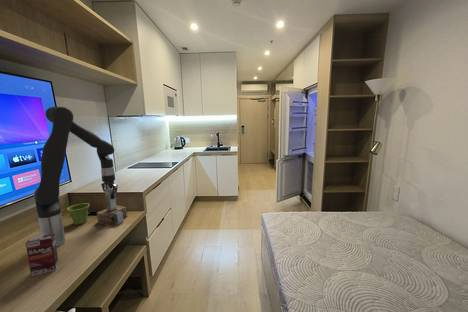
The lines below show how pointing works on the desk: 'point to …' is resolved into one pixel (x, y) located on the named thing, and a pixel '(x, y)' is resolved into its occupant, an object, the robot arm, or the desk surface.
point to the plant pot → (79, 213)
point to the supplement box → (42, 254)
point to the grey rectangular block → (118, 217)
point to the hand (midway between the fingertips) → (110, 198)
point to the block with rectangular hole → (109, 215)
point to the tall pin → (110, 202)
